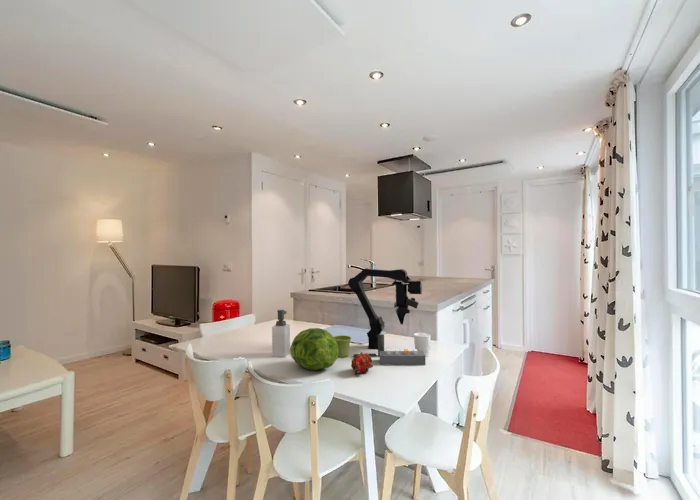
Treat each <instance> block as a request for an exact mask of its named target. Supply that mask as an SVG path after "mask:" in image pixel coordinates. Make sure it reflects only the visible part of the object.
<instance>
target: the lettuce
mask: <svg viewBox="0 0 700 500" xmlns="http://www.w3.org/2000/svg"><path fill="white" fill-rule="evenodd" d="M334 337H335V336H333V335H332V334H331V333H330V331H328V330H326V329H323V328H319V327H312V328H311V327H310V328H308V329H307V328H306V329H304V330H302V331H300V332H299V333H298V334H296V336H294V338H293V340H292V343H291V344H290V354H289V355H290V357H291V359H292V360H293V361H294V362H295V363H296V364H297V365H299V367H301V368H305V369H306V370H309V371H319V370H322V369H329V368H330V367H332V366H333V365H334V364H335V362H336V361H337V359H338V358H339V357H338V345H337V342H336V340H335V339H334Z"/></svg>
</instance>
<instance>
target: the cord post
mask: <svg viewBox="0 0 700 500" xmlns="http://www.w3.org/2000/svg"><path fill="white" fill-rule="evenodd" d="M377 351H378V352H377V355H378V357H379V358H380V352H379V351H385V334H379V335H378V349H377Z"/></svg>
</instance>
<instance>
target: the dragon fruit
mask: <svg viewBox="0 0 700 500" xmlns="http://www.w3.org/2000/svg"><path fill="white" fill-rule="evenodd" d="M359 354H360V355H355V357H353V358H352V359H351V365H350V367H351V368H352V370H353V371H355V372H354V374H355V375H357V374H362V373H364V374H367V373H368V372H369V370H370V369H372V368H373V367H374V364H372V363H373V359H372V356H369V355H368V354H369V353H367V352H365V353H363V352H359Z"/></svg>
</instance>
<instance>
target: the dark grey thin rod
mask: <svg viewBox="0 0 700 500" xmlns="http://www.w3.org/2000/svg"><path fill="white" fill-rule="evenodd" d="M352 355H353V356H352V357H353V358H354V357H355V355H360V353H355V354H354V353H353V354H352ZM368 355H369V356H371V357H376V356H377V353H376V352H375V353H368Z"/></svg>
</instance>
